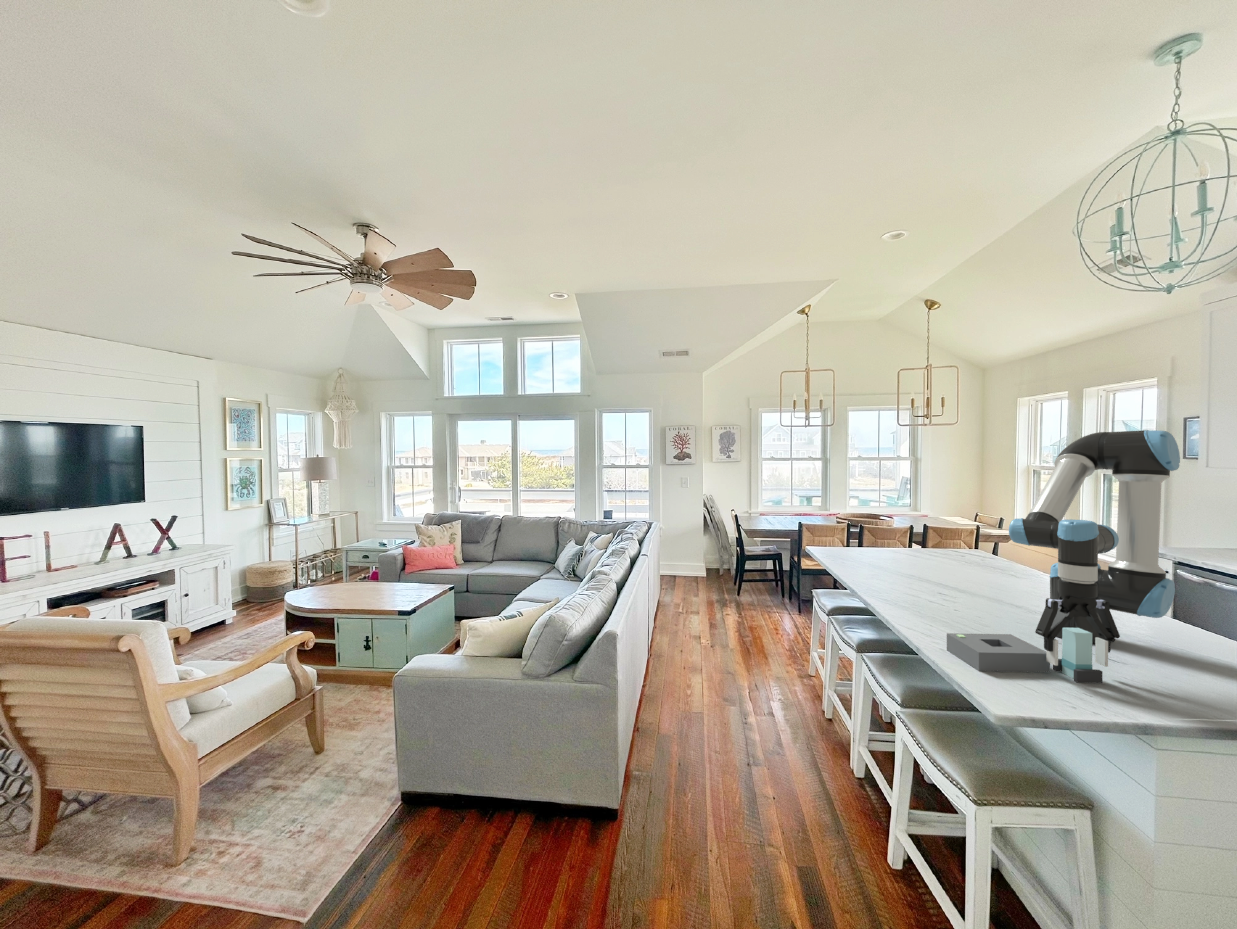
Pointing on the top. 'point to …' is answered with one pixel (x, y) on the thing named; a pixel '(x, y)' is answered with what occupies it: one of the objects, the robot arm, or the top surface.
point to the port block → (997, 652)
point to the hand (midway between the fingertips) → (1076, 664)
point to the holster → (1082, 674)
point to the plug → (1076, 650)
